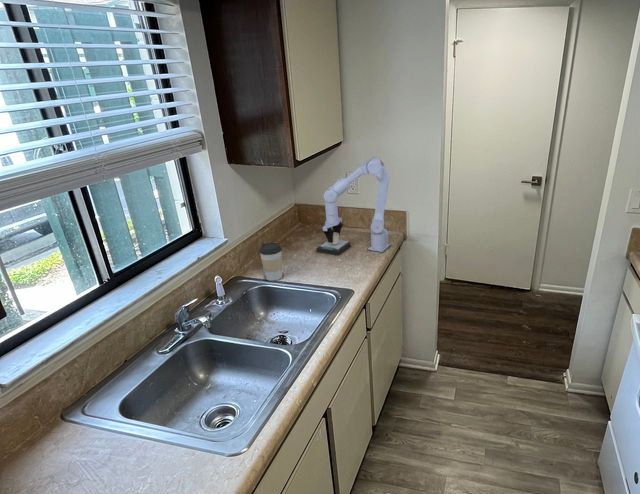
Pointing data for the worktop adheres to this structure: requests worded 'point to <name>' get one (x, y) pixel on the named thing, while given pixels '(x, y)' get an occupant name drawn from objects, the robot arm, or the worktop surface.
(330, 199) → the robot arm
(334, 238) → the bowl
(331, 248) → the scale
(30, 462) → the worktop surface
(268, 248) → the coffee cup
